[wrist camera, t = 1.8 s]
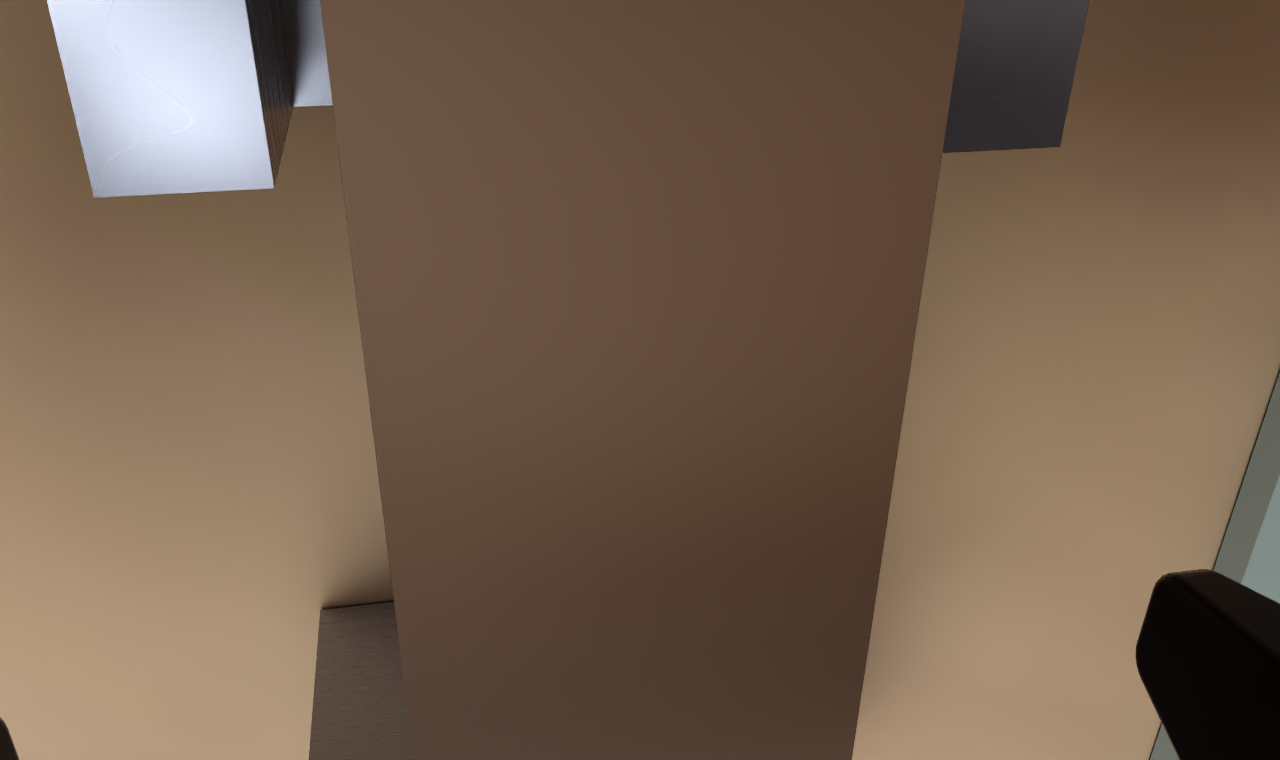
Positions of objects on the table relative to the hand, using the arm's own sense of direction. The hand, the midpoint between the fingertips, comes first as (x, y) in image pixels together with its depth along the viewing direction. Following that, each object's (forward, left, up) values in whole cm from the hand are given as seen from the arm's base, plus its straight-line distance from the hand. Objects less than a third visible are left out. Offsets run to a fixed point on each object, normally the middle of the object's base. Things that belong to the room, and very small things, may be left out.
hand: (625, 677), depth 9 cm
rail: (0, 0, -2) cm, 2 cm away
